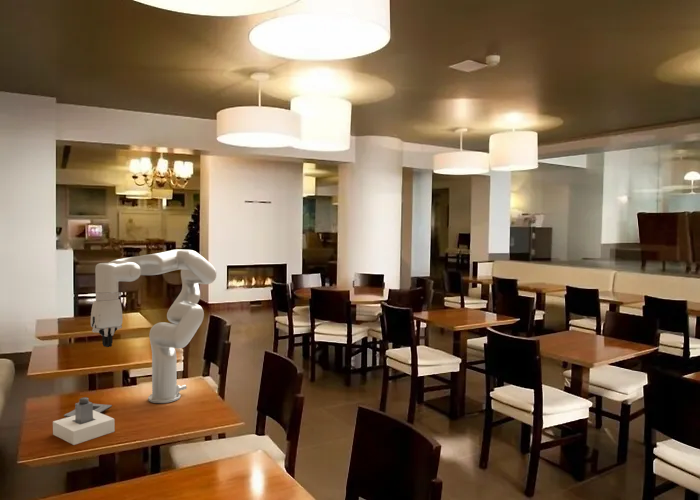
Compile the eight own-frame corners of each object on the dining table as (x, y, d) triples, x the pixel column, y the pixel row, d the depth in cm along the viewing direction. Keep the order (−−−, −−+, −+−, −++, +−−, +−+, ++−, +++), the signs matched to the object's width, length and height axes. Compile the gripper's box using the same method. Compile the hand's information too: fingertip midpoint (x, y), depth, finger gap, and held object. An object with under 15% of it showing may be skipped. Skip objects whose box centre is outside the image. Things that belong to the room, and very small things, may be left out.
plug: (87, 428, 182) (87, 395, 181) (92, 431, 179) (92, 398, 179) (75, 432, 178) (75, 398, 178) (81, 435, 176) (80, 401, 175)
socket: (93, 422, 189) (93, 410, 188) (114, 431, 180) (114, 418, 180) (53, 434, 177) (52, 421, 177) (73, 445, 169) (73, 431, 169)
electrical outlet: (89, 423, 189) (89, 416, 189) (63, 420, 191) (63, 414, 191) (112, 410, 202) (112, 404, 202) (88, 408, 204) (87, 402, 203)
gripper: (120, 293, 198) (120, 341, 199) (81, 297, 186) (81, 348, 187) (131, 295, 194) (132, 344, 195) (92, 299, 182) (92, 351, 182)
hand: (107, 346), depth 191 cm, fingers closed
